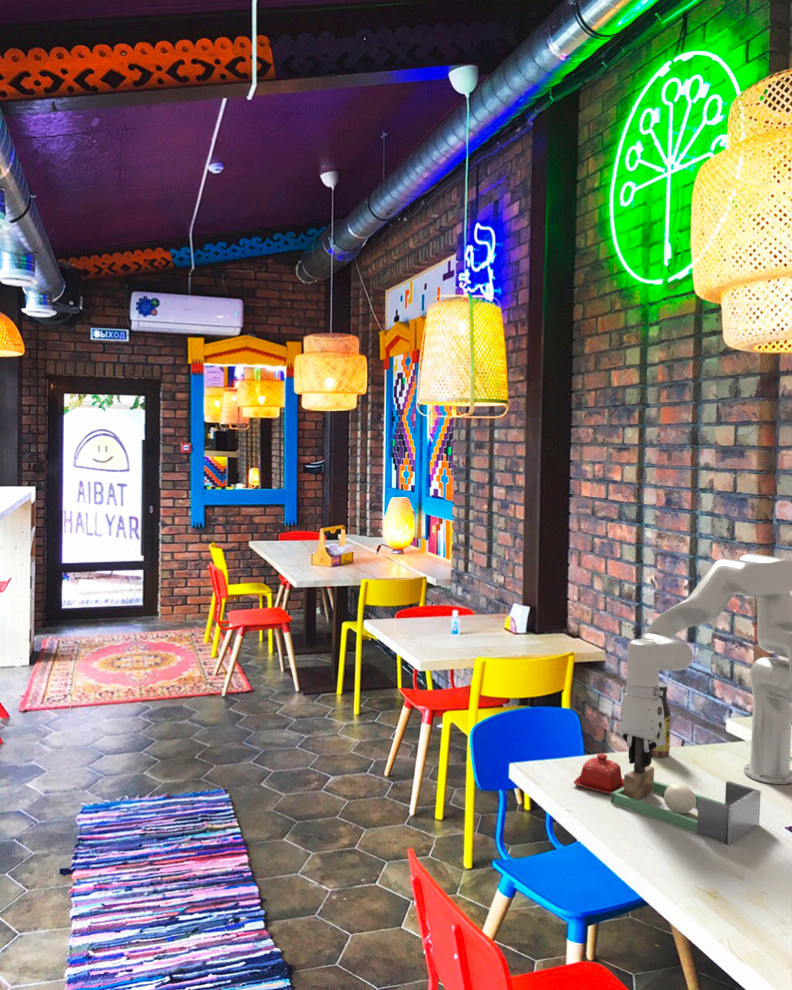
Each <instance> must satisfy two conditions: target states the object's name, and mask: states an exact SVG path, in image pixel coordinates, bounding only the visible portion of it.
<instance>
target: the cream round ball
mask: <svg viewBox="0 0 792 990" xmlns="http://www.w3.org/2000/svg"><path fill="white" fill-rule="evenodd" d="M695 794H696V793H695V792H693V790H692V789H691V788H690V787H689V786H688V785H686V784H683V783H677V782H676V783H671V784H670V785H669V787H668V788H667V789H666V791H665V794H664V795H663V800H664V804H665V806H666V807H667V809H668V810H669V811H671V812H674V813H677V814H680V815H683V814H687V813H689V812H691V811H692V810H693V809H695V807H697V806H696V797H695Z"/></svg>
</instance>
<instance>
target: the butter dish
mask: <svg viewBox="0 0 792 990" xmlns="http://www.w3.org/2000/svg"><path fill="white" fill-rule="evenodd" d="M621 768H622V767H621V766H620V765H619V764H618V763H617V762H615V761H613V760H611V759H609V758H608V755H607V754H605V753H598V754H597V755H596V757H591V758H590V759H587V761H586V762H585V763H584V764H583V766H582V768H581V772H580V775H578V777H577V778H576V779H575V780H574V781H573V783H574V785H576V786H578V787H582V788H584V787H586V788H585V789H588V788H590V789H589V790H592V789H593V790H592V791H596V790H597V791H596V792H600V791H601V792H600V793H604V792H605V793H604V794H607V793H609V795H611V793H612V792H614V791H616V790H618V789H620V788H622V787H624V778H623V777H622V769H621Z"/></svg>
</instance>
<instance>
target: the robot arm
mask: <svg viewBox="0 0 792 990" xmlns="http://www.w3.org/2000/svg"><path fill="white" fill-rule="evenodd" d="M791 592H792V560H791V559H788V558H784V557H778V556H769V555H766V554H761V553H760V554H758V553H757V554H756V553H747V554H744V555H742V556H740V557H739V558H738V560H737V559H732V558H731V559H730V558H723V559H719V560H717V561H715V562H714V563H713V564H712V565H711V567H710V568H709V569H708V570H707V572H706V573H705V575H704V576H703V577H702V578H701V580H700V581H699V582H698V584H697V585H696V586H695V588H694V589H693V590H692V591H691V593H690V594H689V595H688V596H687V598H686V599H685V600H682V601H681V602H679V603H677V604H675V605H674V606H672V607H670V608H669V609H667V610H665V611H663V612H662V613H660V614H659V615H657V617H655V619H653V621H652V622H651V623H650V625H649V626H648V627H646V630H645V631H644V632H643V634H642V636H641V637H640V638H638V639H637V638H635V639H632V640H631V641H629V643H628V646H627V666H626V689H625V691H626V692H624V693H623V698H622V701H621V705H620V706H621V707H620V711H619V713H620V714H619V725H618V726H617V728H616V733H617V734H618V735H620V736H621V737H622V738H623V740H624V741H625V743H626V746H627V747H628V759H629V760H628V761H629V762H628V764H631V765H634V756H635V738H638V737H639V738H642V739H644V751H642V762H641V766H642V767H643V768H645V767H647V766H651V764H652V757H653V756H652V750H653V749H654V748H656V747H658V746H662V745H664V744H666V741H665V738H664V711H663V704H662V700H661V698H659V697H658V696H662V695H663V691H661V690H660V689H659V686H658V685H659V684H660V682H659V681H660V671H669V672H670V671H671V672H681V671H684V670H685V669H687V668H688V667H690V665H691V664H692V662H693V660H694V659H693V657H694V655H693V651H692V649H691V647H690V646H689V645H688V644H687V643H685V642H683V641H681V640H679V639H676V638H675V639H674V638H673V637H675V636H676V635H677V634H678V633H679V632H681V631H683V630H686V629H688V628H692V627H698V626H702V625H706V624H710V623H713V622H715V621H716V620H717V619H718V618H719V616H720V615H721V613H722V612H723V611H724V609H726V607H727V605H728V604H729V603H730V601H731V600H732V599H733V598H734V597H735V595H738V596H744V597H748V598H749V597H750V598H756V603H757V617H756V618H757V619H756V620H757V621H756V622H757V623H756V624H757V625H756V626H757V627H756V628H757V629H756V630H757V631H756V638H757V643H758V646H759V647H760V649H761V650H763V651H765V652H767V653H769V654H772V655H775V656H778V657H779V656H780V657H782V658H786V659H787V660H784V659H780V658H777V657H773V656H771V657H770V656H763V657H759V658H758V659H756V660H755V661H754V662H753V663H752V665H751V667H750V672H749V679H750V686H751V692H752V718H751V721H752V722H751V742H750V743H751V746H750V763H748V764H745V765H744V768H743V772H744V774H745V775H746V776H748V777H749V778H751V779H753V780H755V781H757V782H763V783H765V784H766V783H767V784H771V783H772V785H788V783H790V784H792V770H791V769H790V767H791V766H790V765H791V764H790V763H791V762H792V756H791V744H792V743H791V742H792V741H791V739H792V706H791V703H790V702H792V594H791ZM656 737H657V741H655V742H654V740H656Z"/></svg>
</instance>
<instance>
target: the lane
mask: <svg viewBox="0 0 792 990" xmlns="http://www.w3.org/2000/svg"><path fill="white" fill-rule="evenodd" d="M669 786H670V785H668V784H665V783H663V782H660V781H656V780H654V785H653V793H655V794H659V795H661V796H664V794H665V791H666V789H667V788H668V787H669ZM694 794H695V797H696V806H695V807H697V808H698V799H699V798H700V797H702V798H705V799H708V800H711V801H714V802H717V803H720V804H724V805H725V802H721V801H719V800H715V799H712V798H709V797H706V796H703V795H700V794H696V793H694ZM610 803H611V804H613V803H614V805H616V806H619V807H622V808H624V809H627V810H630V811H633V812H636V813H639V814H642V815H644V816H647V817H649V818H652V819H656V820H658V821H661V822H663V823H666V824H670V825H672V826H675V827H677V828H680V829H684V830H686V831H689V832H691V833H694V834H697V821H698V819H697V820H696V819H694V818H691V817H687V816H685V815H683V814H678V813H674V812H673V811H671V810H669V809H668V810H667V809H664V808H662V807H660V806H656V805H653V804H651V803H648V802H645V801H641V800H636V799H633V798H631V797H628V796H625V795H624V787H622V788H620V789H618V790H616V791H614V792H612V793H611V794H610Z"/></svg>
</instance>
